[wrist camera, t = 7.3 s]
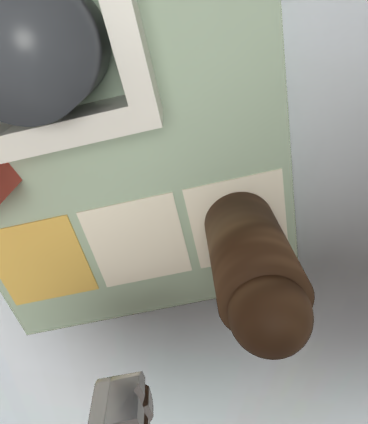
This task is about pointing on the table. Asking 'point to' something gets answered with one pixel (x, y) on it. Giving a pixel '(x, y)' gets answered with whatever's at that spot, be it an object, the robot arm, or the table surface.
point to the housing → (106, 108)
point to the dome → (49, 58)
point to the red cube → (7, 180)
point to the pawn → (258, 277)
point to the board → (154, 174)
